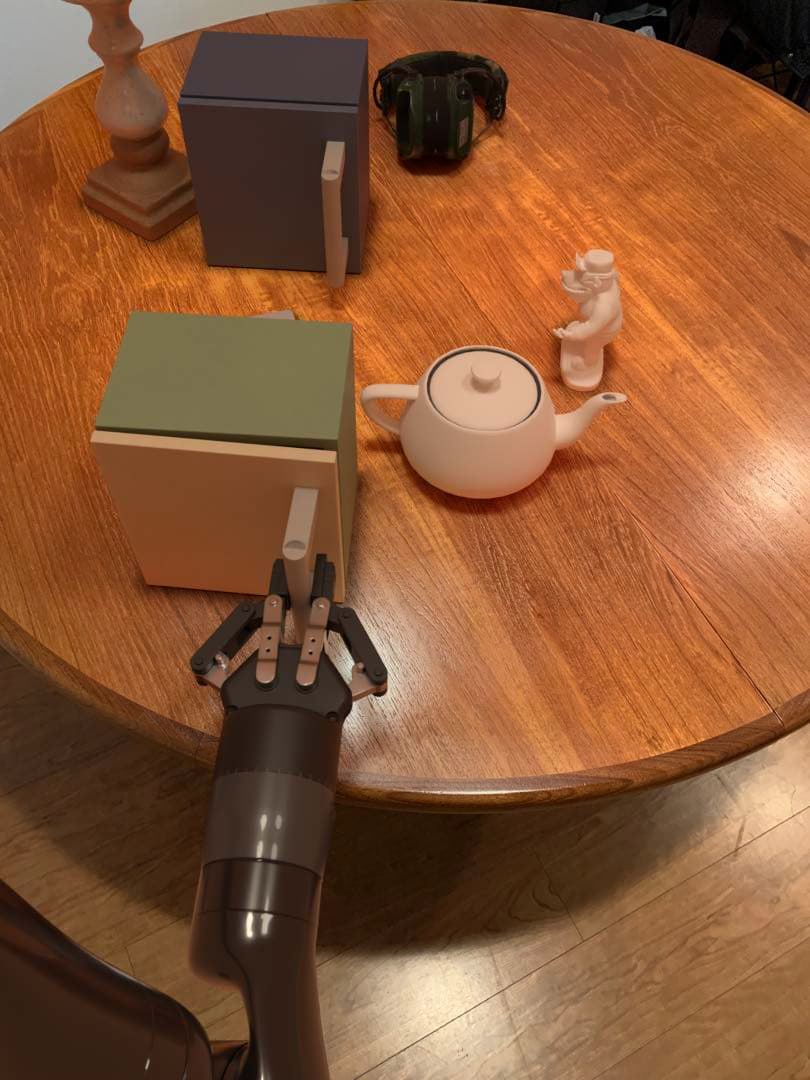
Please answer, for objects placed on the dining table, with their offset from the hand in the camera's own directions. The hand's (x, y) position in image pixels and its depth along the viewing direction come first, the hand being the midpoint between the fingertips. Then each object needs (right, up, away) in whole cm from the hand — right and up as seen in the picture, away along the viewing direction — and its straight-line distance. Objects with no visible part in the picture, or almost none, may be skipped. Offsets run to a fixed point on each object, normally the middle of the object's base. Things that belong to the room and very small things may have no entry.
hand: (306, 559), depth 66 cm
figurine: (+24, +19, +25) cm, 39 cm away
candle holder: (-21, +39, +37) cm, 58 cm away
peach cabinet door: (-6, -5, +7) cm, 11 cm away
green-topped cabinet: (-5, +3, +13) cm, 14 cm away
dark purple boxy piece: (-5, +35, +35) cm, 50 cm away
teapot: (+14, +9, +18) cm, 24 cm away
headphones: (+11, +51, +46) cm, 69 cm away
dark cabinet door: (-6, +28, +29) cm, 41 cm away
